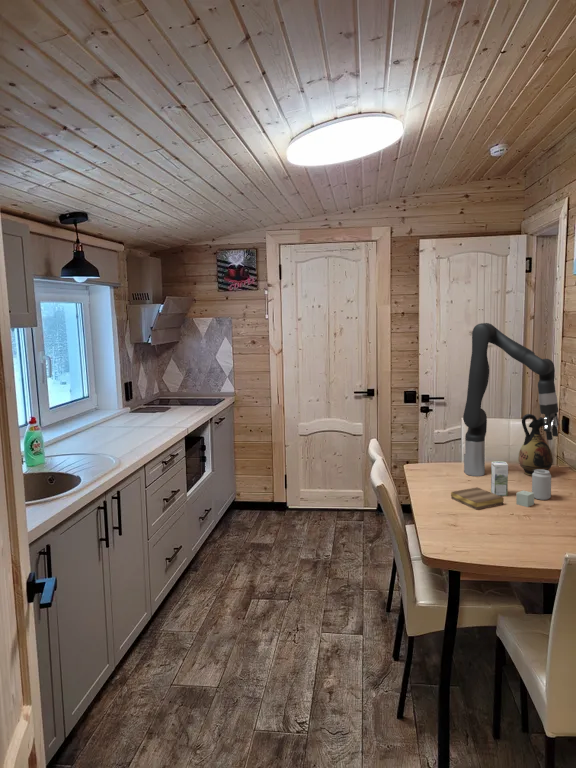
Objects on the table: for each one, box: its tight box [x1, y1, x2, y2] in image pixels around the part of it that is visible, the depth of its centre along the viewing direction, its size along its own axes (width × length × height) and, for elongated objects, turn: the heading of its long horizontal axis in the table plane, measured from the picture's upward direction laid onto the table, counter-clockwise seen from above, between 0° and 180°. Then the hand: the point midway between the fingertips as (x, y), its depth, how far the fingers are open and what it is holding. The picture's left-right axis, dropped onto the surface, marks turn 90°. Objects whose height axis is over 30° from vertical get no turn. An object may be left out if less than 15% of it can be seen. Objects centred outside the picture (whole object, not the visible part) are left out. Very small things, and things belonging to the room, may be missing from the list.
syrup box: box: [490, 460, 509, 497], centre depth 245 cm, size 6×6×14 cm
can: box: [531, 469, 552, 501], centre depth 239 cm, size 8×8×12 cm
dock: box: [450, 486, 504, 511], centre depth 237 cm, size 16×14×3 cm
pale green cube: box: [515, 489, 535, 508], centre depth 232 cm, size 5×5×5 cm
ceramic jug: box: [517, 413, 554, 477], centre depth 272 cm, size 17×15×30 cm
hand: (552, 437), depth 252 cm, fingers open, 8 cm apart
